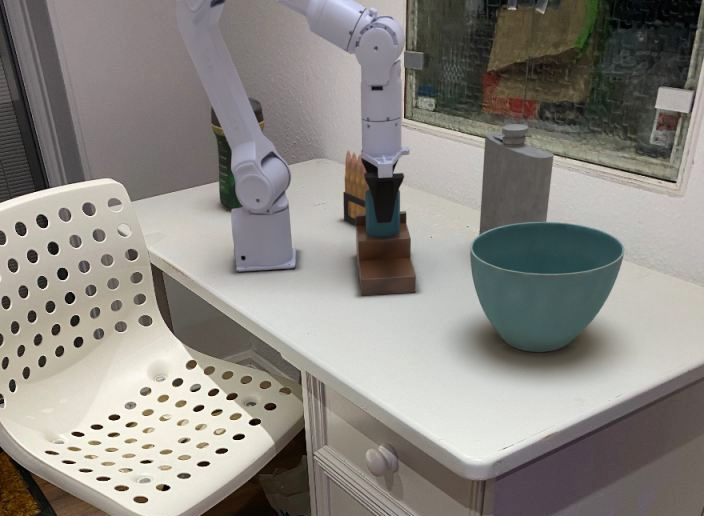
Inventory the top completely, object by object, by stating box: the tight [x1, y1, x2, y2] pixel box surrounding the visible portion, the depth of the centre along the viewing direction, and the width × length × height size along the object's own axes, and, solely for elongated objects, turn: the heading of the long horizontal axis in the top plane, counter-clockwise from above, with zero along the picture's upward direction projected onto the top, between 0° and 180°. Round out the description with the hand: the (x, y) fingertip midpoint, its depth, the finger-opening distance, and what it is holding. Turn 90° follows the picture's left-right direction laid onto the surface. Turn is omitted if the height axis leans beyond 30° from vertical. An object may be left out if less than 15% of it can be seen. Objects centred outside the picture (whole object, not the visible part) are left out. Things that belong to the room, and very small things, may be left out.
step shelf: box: [355, 210, 417, 296], centre depth 125 cm, size 8×16×7 cm, turn 1°
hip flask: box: [478, 123, 555, 236], centre depth 121 cm, size 16×4×20 cm, turn 19°
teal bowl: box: [469, 221, 625, 353], centre depth 103 cm, size 18×18×12 cm
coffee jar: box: [210, 97, 265, 210], centre depth 153 cm, size 10×8×19 cm
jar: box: [365, 189, 401, 237], centre depth 124 cm, size 5×5×6 cm
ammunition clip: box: [343, 150, 369, 227], centre depth 141 cm, size 11×2×12 cm, turn 31°
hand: (382, 213), depth 124 cm, fingers open, 7 cm apart
